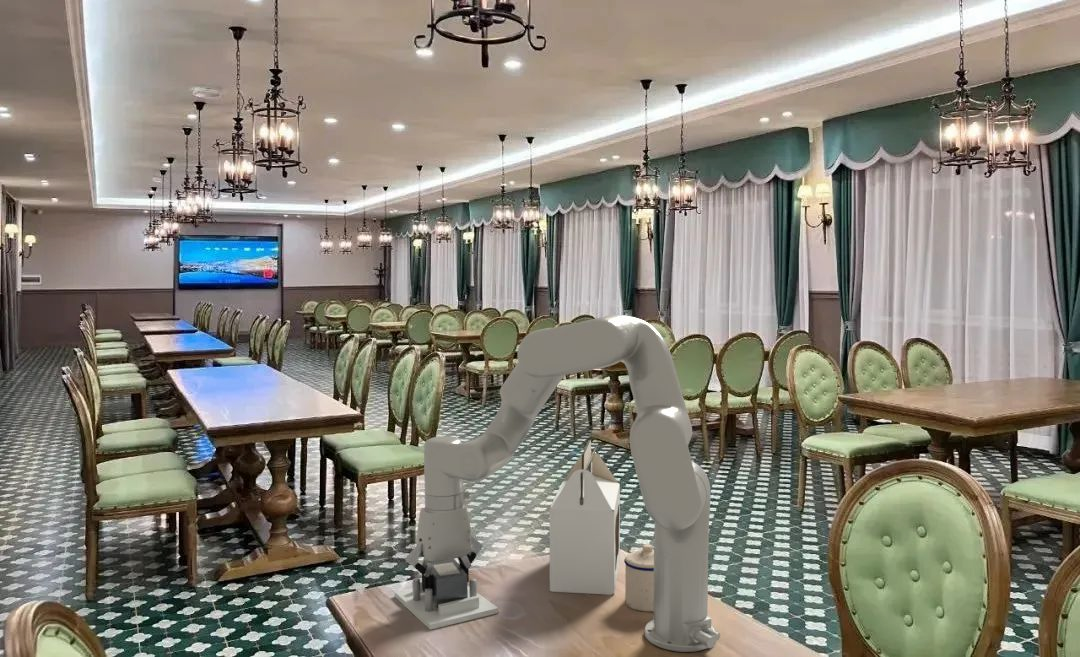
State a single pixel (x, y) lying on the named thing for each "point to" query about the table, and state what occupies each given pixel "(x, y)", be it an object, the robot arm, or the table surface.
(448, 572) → the drive
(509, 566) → the table surface
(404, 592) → the peg fixture base
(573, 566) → the gable box
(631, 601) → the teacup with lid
